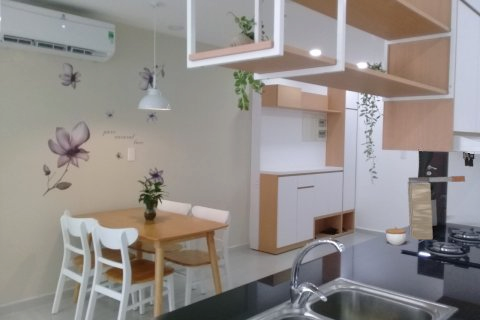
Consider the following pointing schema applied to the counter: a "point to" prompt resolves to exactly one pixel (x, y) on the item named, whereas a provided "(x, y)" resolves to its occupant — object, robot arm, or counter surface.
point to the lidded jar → (396, 236)
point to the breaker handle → (447, 179)
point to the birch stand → (420, 208)
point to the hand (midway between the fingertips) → (469, 166)
